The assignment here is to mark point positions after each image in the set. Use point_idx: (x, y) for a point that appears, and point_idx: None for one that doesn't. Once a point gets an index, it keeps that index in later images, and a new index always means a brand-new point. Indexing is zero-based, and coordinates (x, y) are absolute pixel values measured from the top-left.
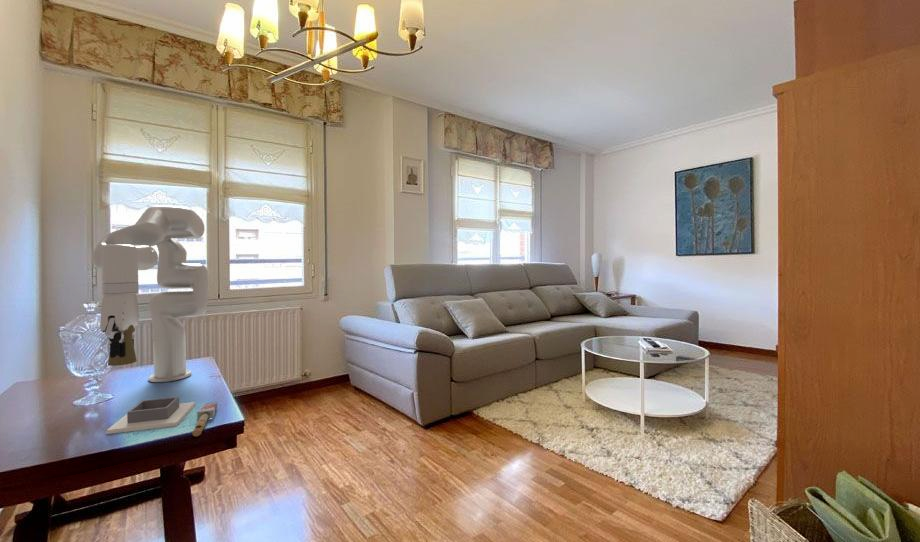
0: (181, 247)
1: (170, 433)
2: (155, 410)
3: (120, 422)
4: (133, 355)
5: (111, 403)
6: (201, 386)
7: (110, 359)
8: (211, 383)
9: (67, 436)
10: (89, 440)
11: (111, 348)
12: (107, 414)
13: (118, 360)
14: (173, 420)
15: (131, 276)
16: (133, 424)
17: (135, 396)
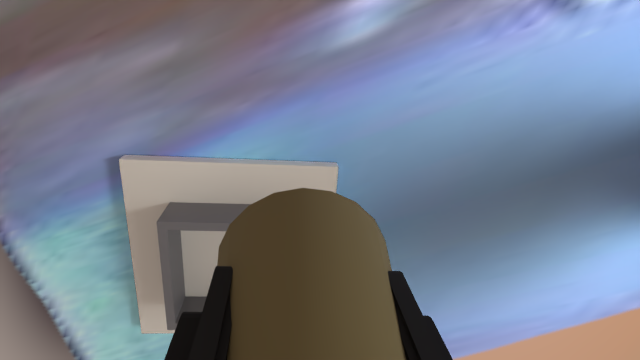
0: None
1: (87, 323)
2: (165, 296)
3: (188, 175)
4: None
5: (493, 36)
6: (537, 292)
7: (236, 246)
8: (556, 313)
9: (136, 26)
10: (78, 122)
11: (197, 338)
12: (346, 76)
13: None
14: (158, 320)
15: None
16: (154, 223)
17: (544, 101)
